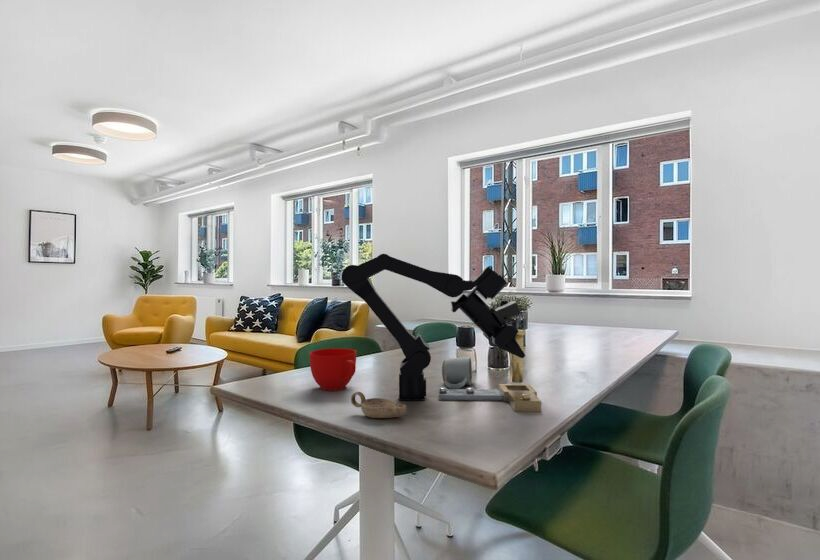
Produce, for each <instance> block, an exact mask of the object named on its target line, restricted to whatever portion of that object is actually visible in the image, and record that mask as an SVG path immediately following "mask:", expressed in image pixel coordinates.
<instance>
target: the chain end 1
mask: <svg viewBox="0 0 820 560" xmlns="http://www.w3.org/2000/svg"><path fill="white" fill-rule="evenodd" d="M522 391H526V390H522ZM438 400H439V401H503V402H505V403H506V402H507V403H509V402H508V397H504V396H503V394H502V393H501V391H500V389H499V388H498V389H496V388H495V389H492V388H491V389H489V388H488V389H487V388H486V389H483V388H479V389H477V388H474V387H471V386H470V387H469V386H468V387H466V388H459V389H451V388H448V387H447V386H446V387H444V386H441V387H438Z"/></svg>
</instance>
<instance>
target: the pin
mask: <svg viewBox="0 0 820 560" xmlns="http://www.w3.org/2000/svg"><path fill="white" fill-rule="evenodd" d="M517 330H518V333H517V334H516V335H515V340H516V341H517V343H518V344H519V346H520V348H521V349H522V351H523V352H524V336H526V330H525V329H517ZM509 354H510V356H509V357H510V370H509V371H510V374H509V375H510V376H509V377H510V378H509V379H510V382H511V383H513V384H523V383H524V358H520V357H518V356H516V355H514V354H511V353H509Z"/></svg>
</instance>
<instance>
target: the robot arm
mask: <svg viewBox="0 0 820 560" xmlns="http://www.w3.org/2000/svg"><path fill="white" fill-rule="evenodd" d="M384 271H388V272H391V273H394V274H397V275H399V276H403V277H406V278H409V279H412V280H414V281H417V282H420V283H423V284H425V285H428V286H429V287H431V288H432V289H434V290H437V291H438V292H440V293H442V294H443V295H445V296H447V297H450V298H457V297H459V298H458V299H457V300H455V301H452V300H451V301H450V305H451V312H452V313H456V312H457V311H458V310H460V311H461V312H462V313H463V314H464V315H465V316H466V317H467V318H468V319H469V320H470V321H471V322H472V324H474V325H475V326H477V328H479V330H480V331H481V332H482V335H483V336H484V337H485V338H486V339H487V340H488V341H490V340H491V339H492V340H491V343H492V344H493V345H494V346H496V347H497V348H498V349H499V350H502V351H504V352H507V353H509V354H510V353H511V354H514V355H516V356H518V357H520V358H523V359H524V358H525V357H526V354H525V353H524V350H523V351H522V349H521V348H520V346H519V344H518V343H517V341H516V340H515V335H516V334H517V333H518V330H519V329H517V328H516V326H515V325H513V324H511V323H508V321H507V320H508V319H511V318H512V317H514V316H518V315H521V314H522V311H521V308H520V306H519V303H518V302H517V301H515V300H511V301H509V302H508V301H507V300H506V299H503V300H501V301H499V302H498V306H497V308H494V307H491V306H489V305H488V303H486V302H485V301H484V300H487V299H490V300H493V299H494V298H496V296H497V295H498V294H499V293H500V292H501V291H502V290H503V289H504V288H506V286H507V285H508V281H506V279H504V277H503V276H502V275H501V274H499V273H497V272H496V271H495V270H493V269H492V267H490V266H486V267H485V268H484V269H483V271H482V272H481V273H479V275H478V276H477V277H476V278H475V279H474V280H472V279H468V280H464V279H463V278H462V276H460V275H458V274H453V273H446V272H441V271H433V270H430V269H428V268H427V269H426V268H425V267H421V266H418V265H415V264H412V263H411V262H407V261H405V260H404V261H403V260H401V259H398V258H395V257H392V256H390V255H389V254H387V253H380V254H379V255H377V256H376V257H374V258H372V259H369V260H366V261H364V262H363V263H361V264H358V265H356V264H350V265H347V266H346V267H344V268H343V270H342V272H341V281H342V283H343V284H344V285H345V286H346V287H347V288H348V289H349V290H350V291H352V292H353V294H355V295H356V296H358V297H359V298H361V299H362V301H364V302H365V303H366V305H367V306H368V307H369V308H370V310H371V311H372V312H373V313H374V314H375V316H376V317H377V318H378V319H379V320H380V322H381V323H382V324H383V326H384V327H385V328H386V329H387V331H388V332H389V333H390V334H391V335H392V337H393V338H394V339H395V341H396V342H397V343H398V344H399V347H400V349H401V352H402V353H403V355H404V358H403V359H402V361H401V362H400V364H399V365H400V366H399V374H398V401H425V397H426V396H427V378H426V377H425V372H424V370H425V369H427V368H428V367H429V365H430V363H431V361H432V357H431V352H430V351H431V349H430V345H429V344H428V343H427V342H425V340H424V339H423V337H422V336H421V334H420V333H417V335H416V336H415V335H414V334H412V333H411V332H410V331H409V329H408V328H406V326H405V325H404V324H403V322H402V321H401V320H400V319H399V318H398V317H397V315H396V314H395V313H394V312H393V310H392V309H391V308H390V307H389V306H388V304H387V303H386V302H385V300H384V299H383V298H382V297H381V296H380V294H379V293H378V292H377V290H376V288H375V286H374V285H373V282H372V281H371V277H373V276H375V275H377V274H379V273H381V272H384ZM466 291H470V292H469V293H468V294H467V295H466V294H464V292H466ZM476 292H477V293H478V294H479V295H480V296H481V297H482V298H483V299H484V300H483V299H482V298H481V297H480V296H479V295H478V294H477V293H476Z"/></svg>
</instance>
